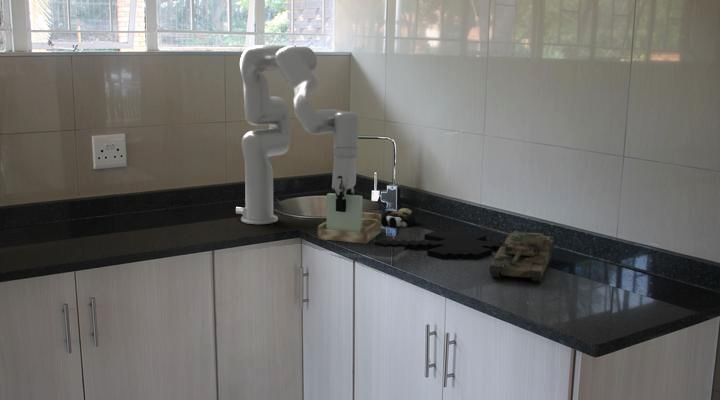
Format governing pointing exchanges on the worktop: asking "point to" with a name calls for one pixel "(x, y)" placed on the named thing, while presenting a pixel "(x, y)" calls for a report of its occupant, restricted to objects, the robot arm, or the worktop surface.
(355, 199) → the board
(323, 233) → the rack
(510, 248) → the toy
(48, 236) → the worktop surface
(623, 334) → the worktop surface
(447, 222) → the worktop surface
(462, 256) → the decorative axe
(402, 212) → the toy
